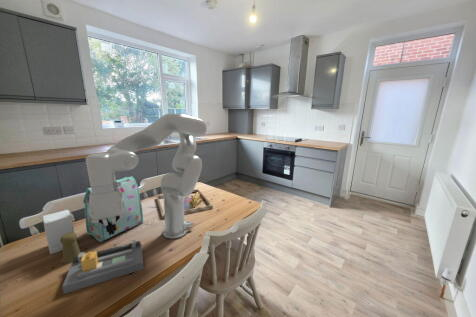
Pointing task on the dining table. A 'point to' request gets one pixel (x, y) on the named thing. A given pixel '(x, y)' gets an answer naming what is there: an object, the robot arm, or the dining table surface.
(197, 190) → the tray
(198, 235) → the dining table surface
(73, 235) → the cork
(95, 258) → the breaker toggle
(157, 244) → the dining table surface
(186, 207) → the spice collection
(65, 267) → the dining table surface
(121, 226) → the lunch bag
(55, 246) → the supplement box
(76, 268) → the grey slider switch base
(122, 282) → the dining table surface
